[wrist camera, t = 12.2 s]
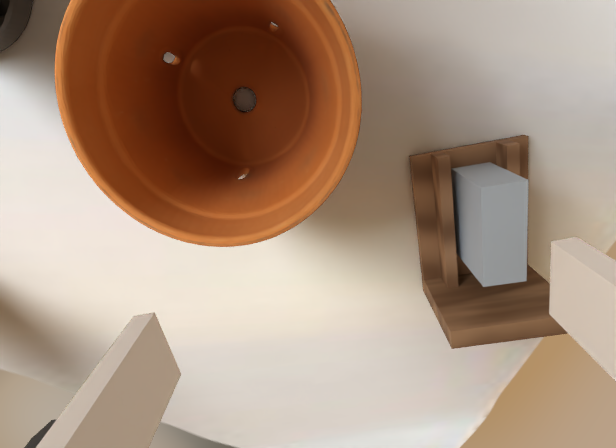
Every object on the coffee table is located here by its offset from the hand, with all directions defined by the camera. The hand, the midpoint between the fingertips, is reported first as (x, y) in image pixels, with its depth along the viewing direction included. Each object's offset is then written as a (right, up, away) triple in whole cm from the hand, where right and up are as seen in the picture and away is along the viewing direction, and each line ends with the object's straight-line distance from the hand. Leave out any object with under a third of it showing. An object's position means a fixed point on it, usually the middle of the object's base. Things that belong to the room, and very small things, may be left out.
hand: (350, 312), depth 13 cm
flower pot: (-8, +16, +27) cm, 33 cm away
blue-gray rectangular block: (+17, +5, +29) cm, 34 cm away
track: (+17, +4, +31) cm, 35 cm away
